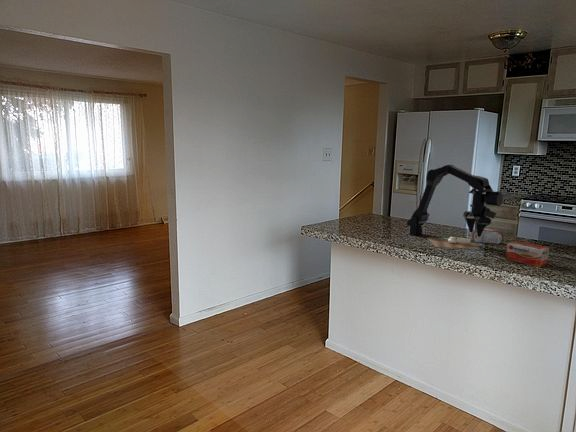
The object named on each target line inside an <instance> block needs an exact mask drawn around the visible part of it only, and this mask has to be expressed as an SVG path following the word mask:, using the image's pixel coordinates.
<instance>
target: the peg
mask: <svg viewBox="0 0 576 432" xmlns="http://www.w3.org/2000/svg"><path fill="white" fill-rule="evenodd" d="M447 238H448V242H449V243H457V241H460V242H469V243H474V244H475V242H474V239H472V238H464V237H456V236H449V237H447Z"/></svg>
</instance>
